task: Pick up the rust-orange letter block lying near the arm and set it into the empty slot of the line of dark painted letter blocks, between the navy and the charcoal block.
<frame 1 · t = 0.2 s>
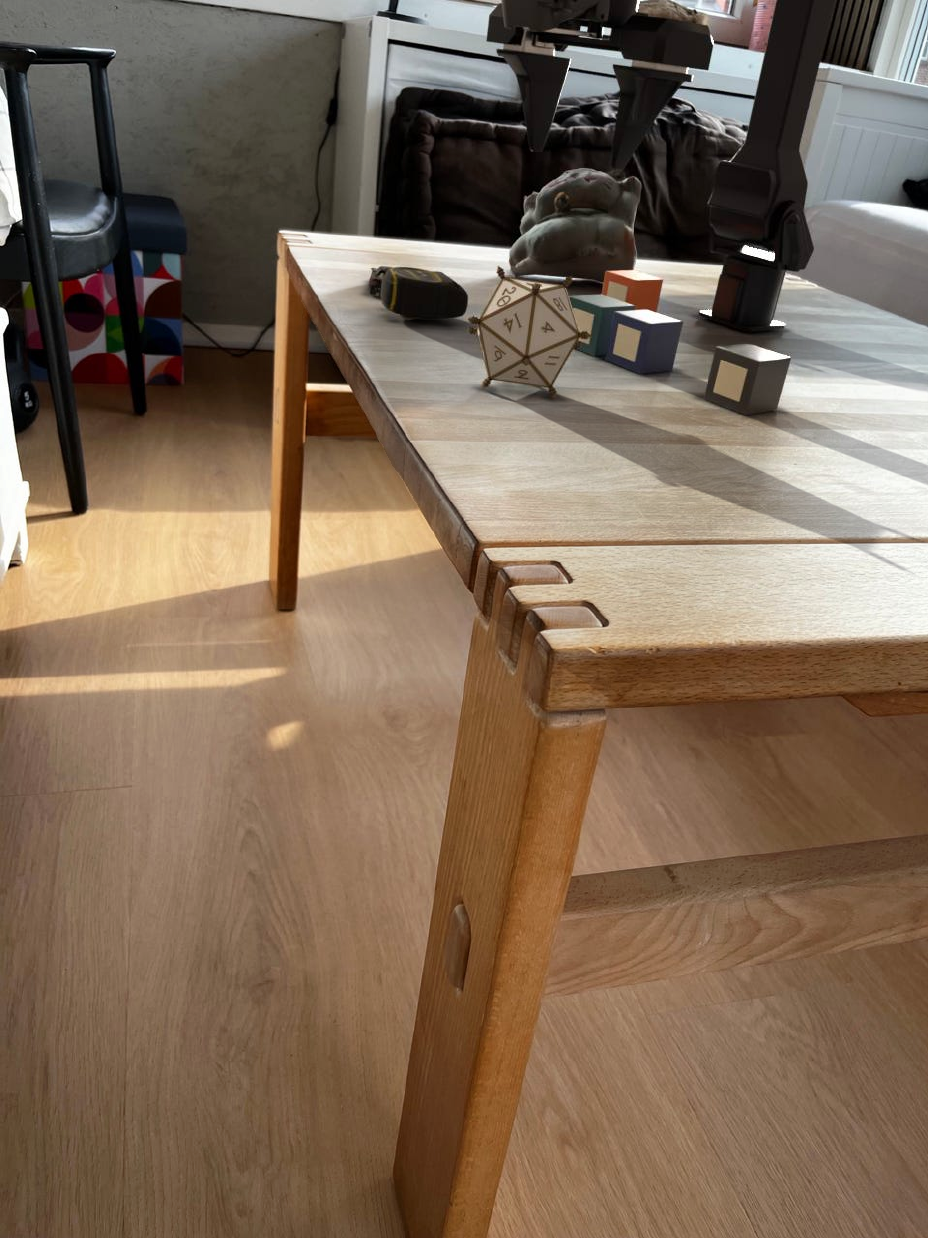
hand: (574, 159, 81), 14 cm above the table, tool pointing down, fingers open, 9 cm apart
game die: (518, 390, 74), on the table
block b: (638, 365, 84), on the table
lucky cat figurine: (563, 281, 114), on the table
loose block: (626, 316, 100), on the table
block a: (593, 348, 87), on the table
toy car: (387, 292, 98), on the table
block c: (740, 404, 78), on the table
tape measure: (424, 319, 90), on the table
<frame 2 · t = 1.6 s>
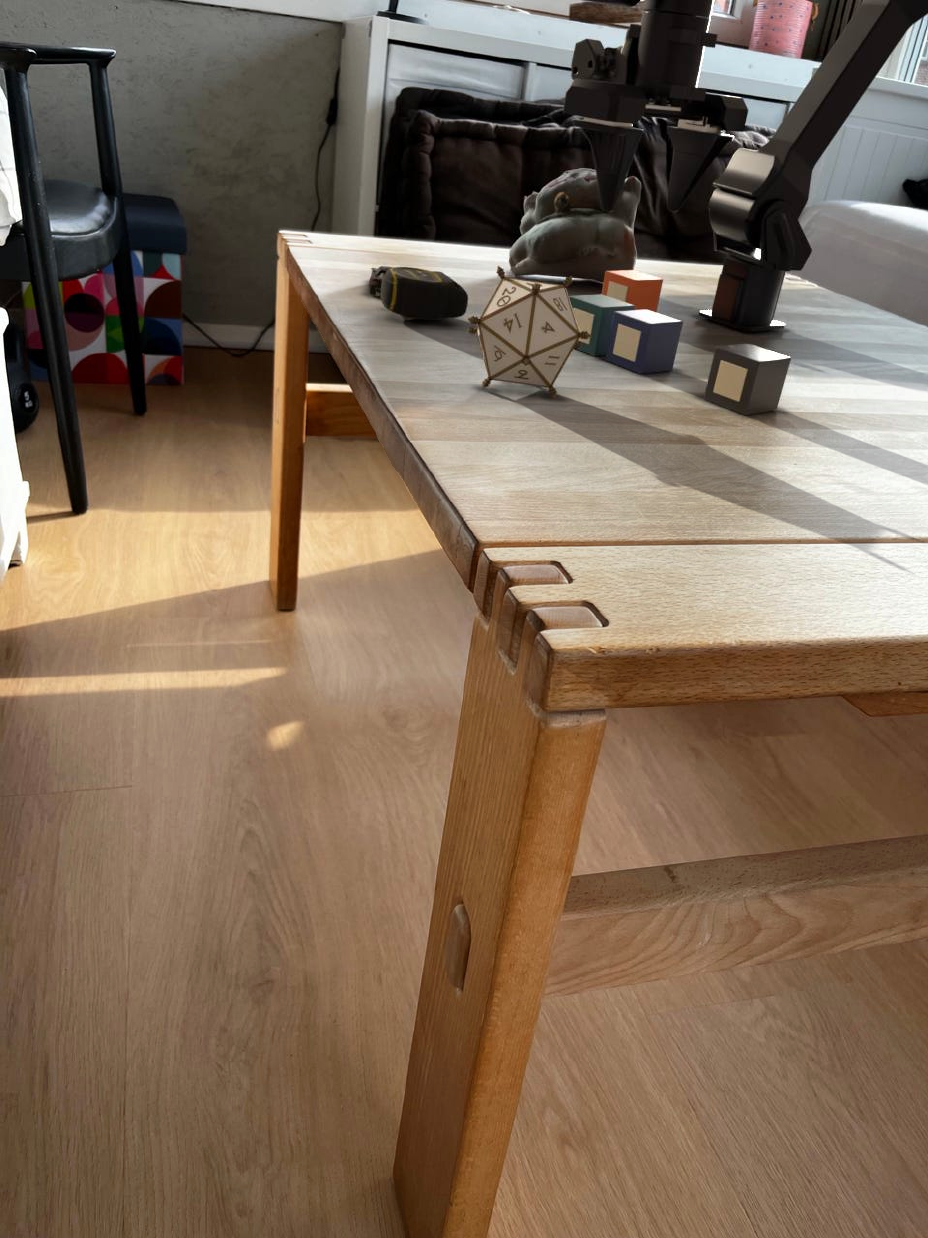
hand: (640, 210, 94), 10 cm above the table, tool pointing down, fingers open, 9 cm apart
nothing on the table moved.
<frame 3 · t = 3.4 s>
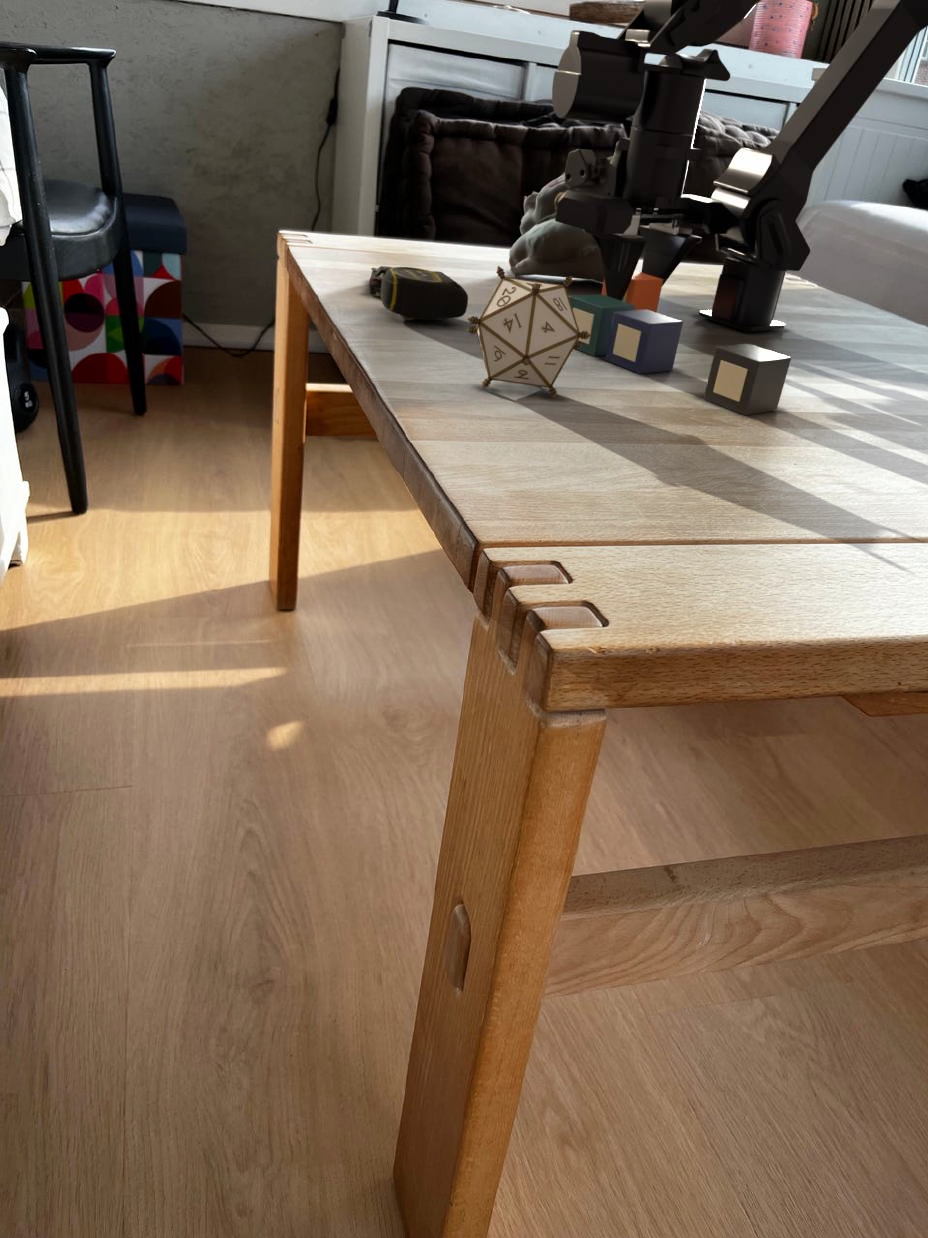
hand: (628, 306, 100), 1 cm above the table, tool pointing down, fingers closed on loose block, 4 cm apart
loose block: (626, 316, 100), on the table, touching gripper
everything else where it was.
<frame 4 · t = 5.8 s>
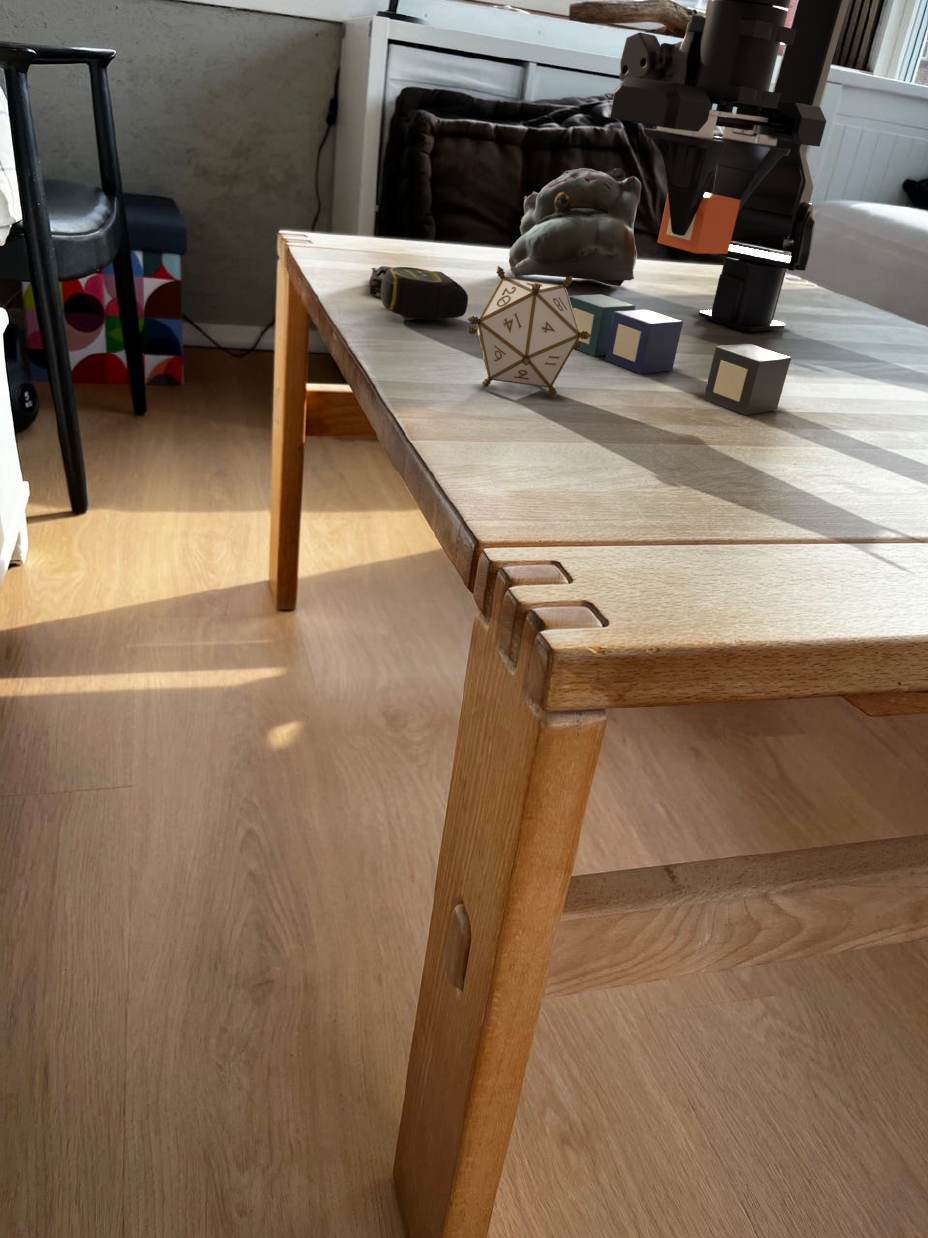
hand: (696, 235, 80), 10 cm above the table, tool pointing down, fingers closed on loose block, 4 cm apart
loose block: (692, 248, 81), point 9 cm above the table, touching gripper
everything else where it was.
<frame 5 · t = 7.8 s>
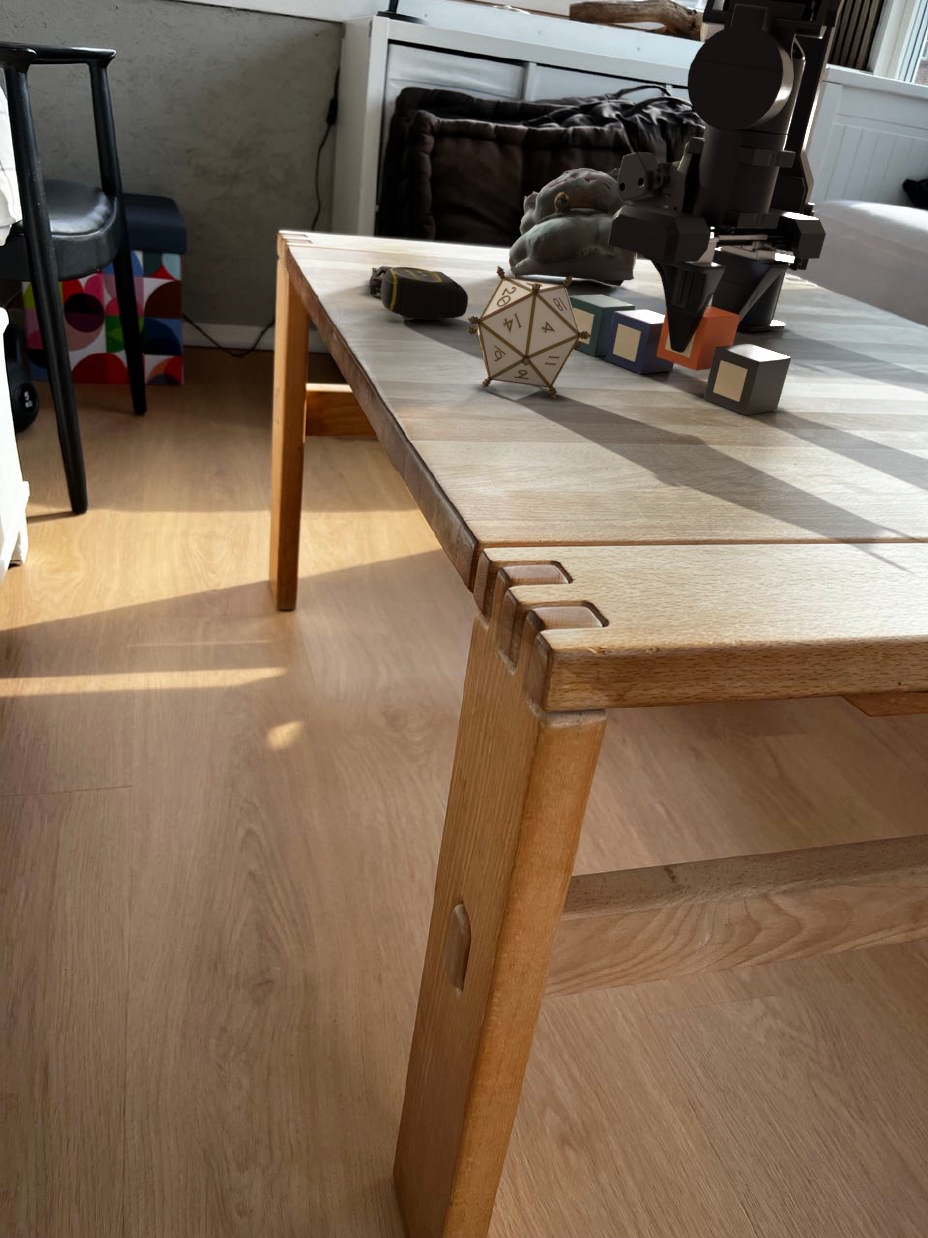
hand: (695, 349, 80), 3 cm above the table, tool pointing down, fingers closed on loose block, 4 cm apart
loose block: (691, 361, 80), point 2 cm above the table, touching gripper
everything else where it was.
when the fingers open (1 cm above the table, at t = 8.7 s): loose block stays where it is, on the table.
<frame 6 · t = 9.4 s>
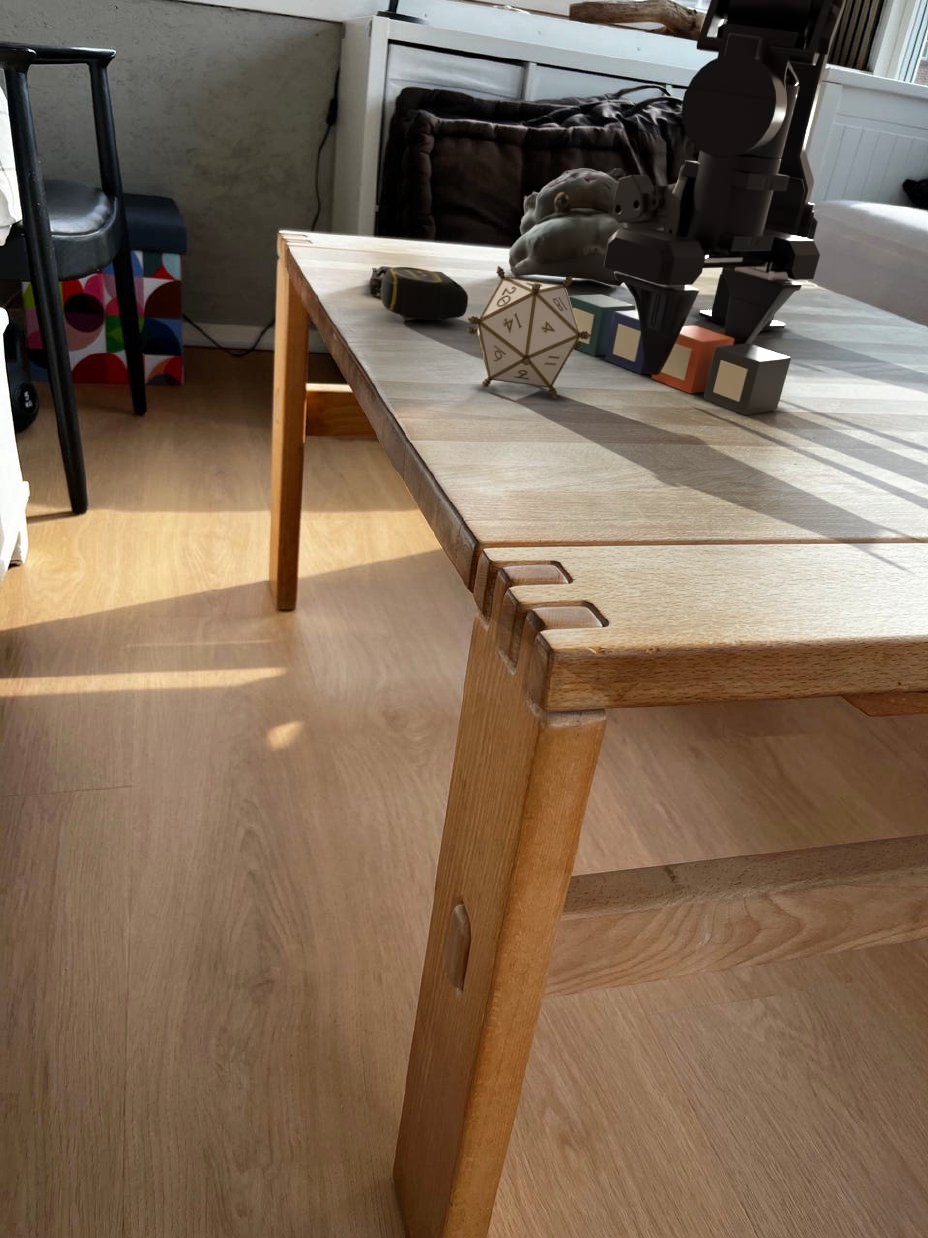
hand: (690, 369, 80), 1 cm above the table, tool pointing down, fingers open, 9 cm apart
loose block: (686, 383, 81), on the table
everything else where it was.
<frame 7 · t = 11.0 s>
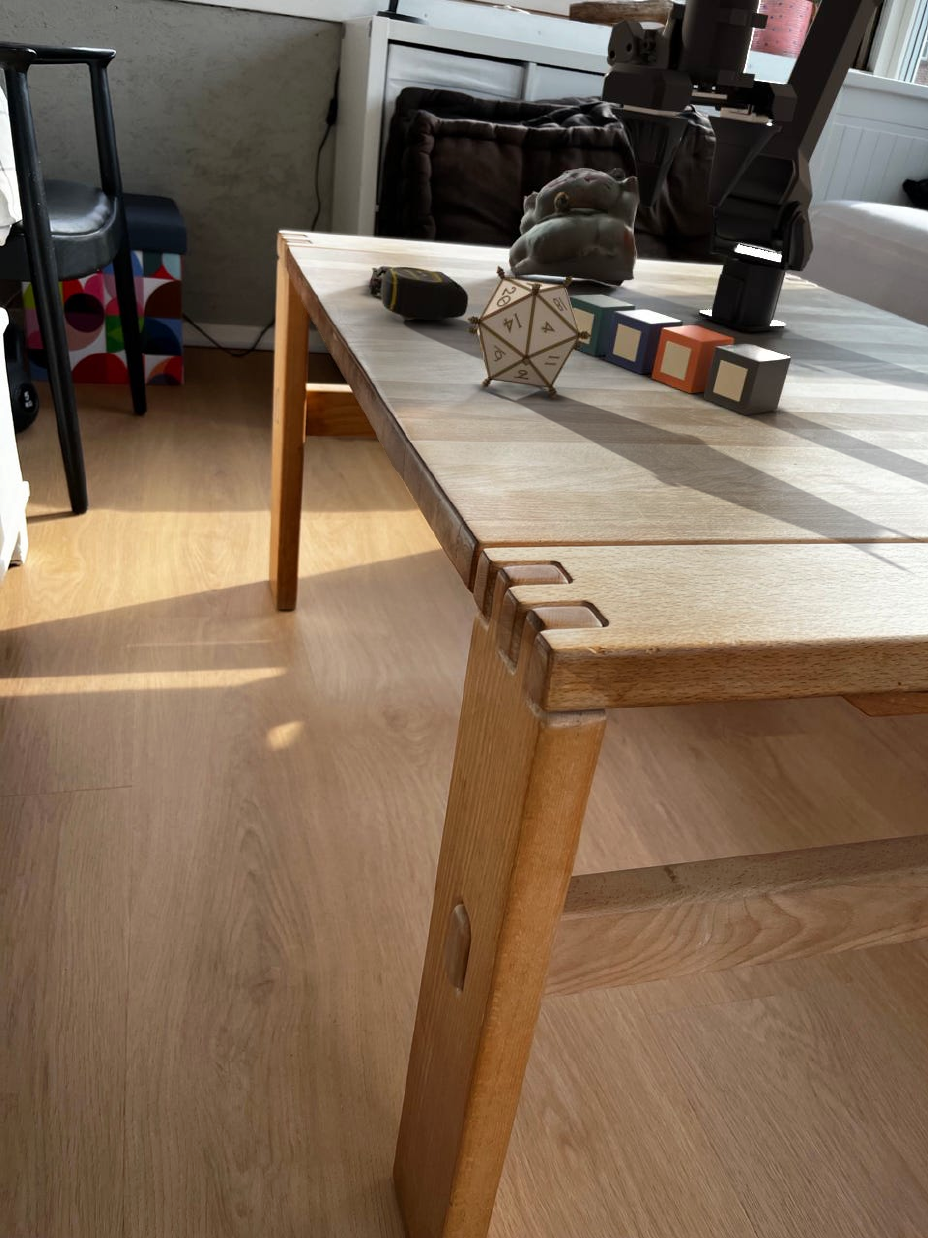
hand: (680, 206, 87), 11 cm above the table, tool pointing down, fingers open, 9 cm apart
nothing on the table moved.
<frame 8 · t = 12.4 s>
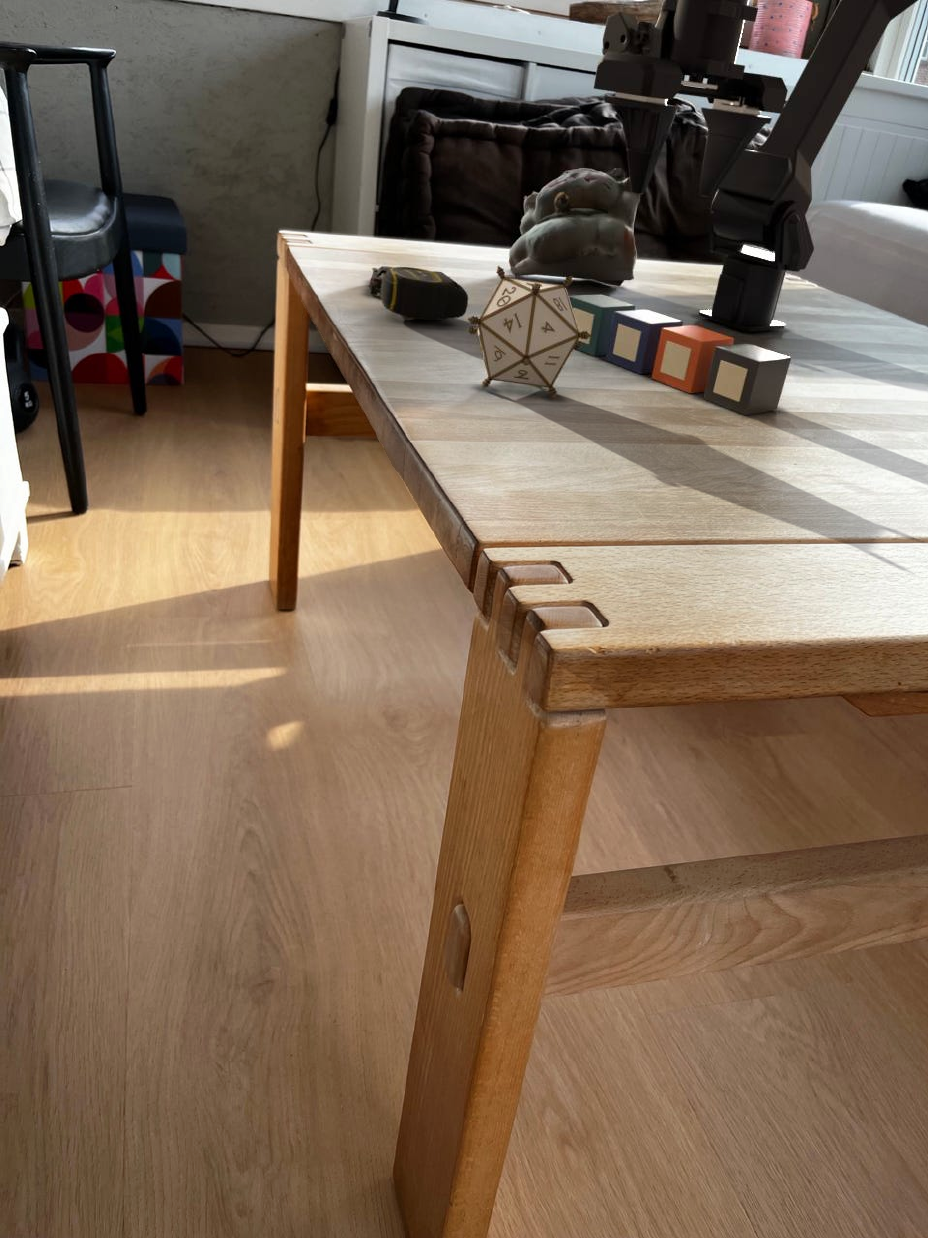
hand: (672, 194, 90), 12 cm above the table, tool pointing down, fingers open, 9 cm apart
nothing on the table moved.
at the end: loose block 0.1 cm from the target spot on the table beside the block b, on the table; loose block tilted 0°; block c moved 0.0 cm from its start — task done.
